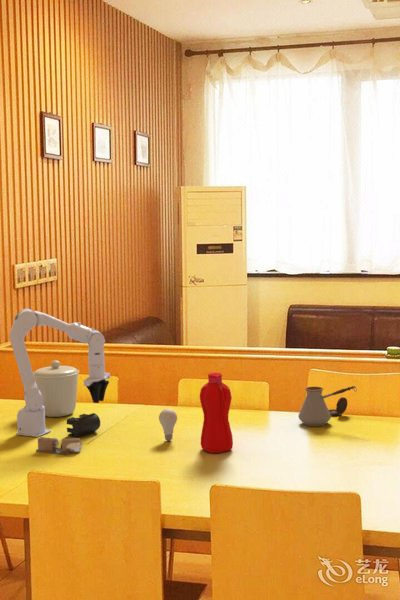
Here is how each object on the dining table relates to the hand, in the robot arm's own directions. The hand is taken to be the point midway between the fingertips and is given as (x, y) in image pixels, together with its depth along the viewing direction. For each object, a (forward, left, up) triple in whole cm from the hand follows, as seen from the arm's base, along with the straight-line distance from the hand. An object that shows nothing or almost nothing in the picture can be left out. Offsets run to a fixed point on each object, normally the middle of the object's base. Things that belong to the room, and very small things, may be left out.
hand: (98, 401), depth 288 cm
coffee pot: (+76, +30, -10) cm, 82 cm away
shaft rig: (+4, -30, -9) cm, 31 cm away
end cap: (0, -10, -10) cm, 14 cm away
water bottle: (+52, -11, -10) cm, 54 cm away
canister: (-26, +11, -10) cm, 30 cm away
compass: (+74, +44, -10) cm, 87 cm away
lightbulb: (+32, -7, -10) cm, 34 cm away
